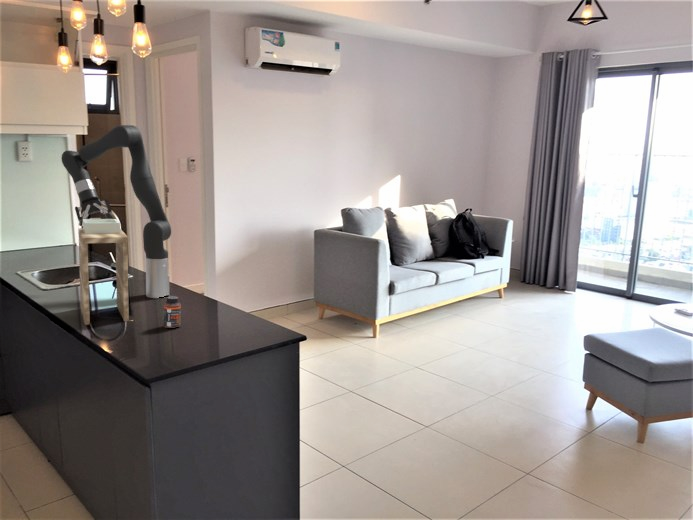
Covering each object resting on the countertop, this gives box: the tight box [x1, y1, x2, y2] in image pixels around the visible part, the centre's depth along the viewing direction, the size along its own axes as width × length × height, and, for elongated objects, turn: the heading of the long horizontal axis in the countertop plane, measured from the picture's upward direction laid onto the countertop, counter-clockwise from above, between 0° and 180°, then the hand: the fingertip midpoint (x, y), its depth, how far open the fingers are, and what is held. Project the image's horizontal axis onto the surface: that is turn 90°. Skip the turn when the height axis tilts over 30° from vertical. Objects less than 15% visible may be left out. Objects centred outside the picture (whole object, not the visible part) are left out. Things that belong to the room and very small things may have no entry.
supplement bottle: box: [163, 295, 182, 329], centre depth 212 cm, size 6×6×11 cm
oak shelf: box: [77, 227, 130, 325], centre depth 220 cm, size 15×24×32 cm, turn 28°
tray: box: [82, 217, 121, 234], centre depth 228 cm, size 12×32×4 cm, turn 28°
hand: (98, 225), depth 254 cm, fingers open, 8 cm apart
